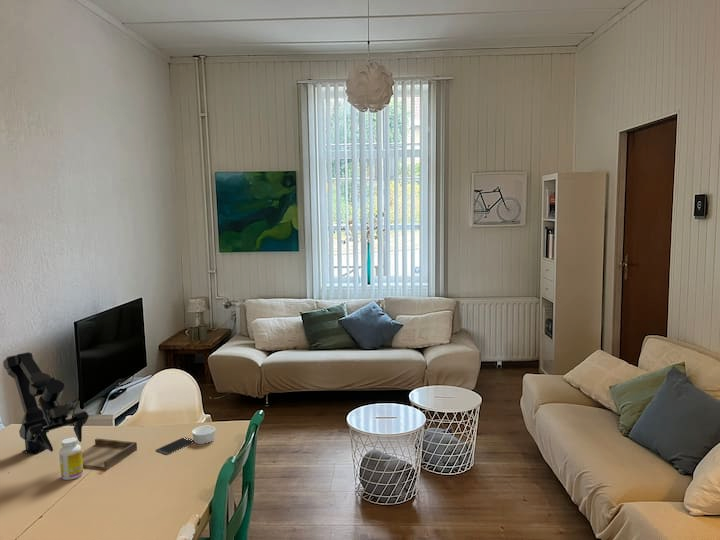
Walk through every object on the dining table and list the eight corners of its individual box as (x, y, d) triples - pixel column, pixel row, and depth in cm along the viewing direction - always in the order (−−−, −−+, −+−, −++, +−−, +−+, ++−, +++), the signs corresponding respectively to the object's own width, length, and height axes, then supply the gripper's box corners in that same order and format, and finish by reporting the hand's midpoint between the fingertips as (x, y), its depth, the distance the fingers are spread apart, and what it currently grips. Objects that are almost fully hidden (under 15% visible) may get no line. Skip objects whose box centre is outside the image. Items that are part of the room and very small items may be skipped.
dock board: (64, 465, 183) (64, 457, 183) (97, 445, 198) (96, 438, 198) (107, 469, 179) (106, 461, 178) (137, 449, 194) (136, 442, 194)
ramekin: (220, 438, 203) (220, 428, 203) (203, 447, 196) (202, 436, 195) (205, 434, 208) (204, 423, 207) (187, 442, 200) (187, 431, 200)
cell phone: (197, 442, 201) (196, 440, 201) (167, 456, 189) (166, 454, 189) (184, 438, 205) (184, 436, 205) (154, 452, 193) (154, 450, 193)
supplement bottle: (87, 471, 178) (84, 436, 177) (75, 481, 171) (72, 444, 170) (69, 470, 179) (66, 435, 177) (56, 480, 172) (53, 444, 171)
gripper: (26, 404, 170) (41, 444, 164) (84, 389, 185) (100, 425, 179) (20, 421, 176) (34, 460, 170) (76, 405, 190) (92, 441, 184)
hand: (66, 446), depth 176 cm, fingers open, 9 cm apart
